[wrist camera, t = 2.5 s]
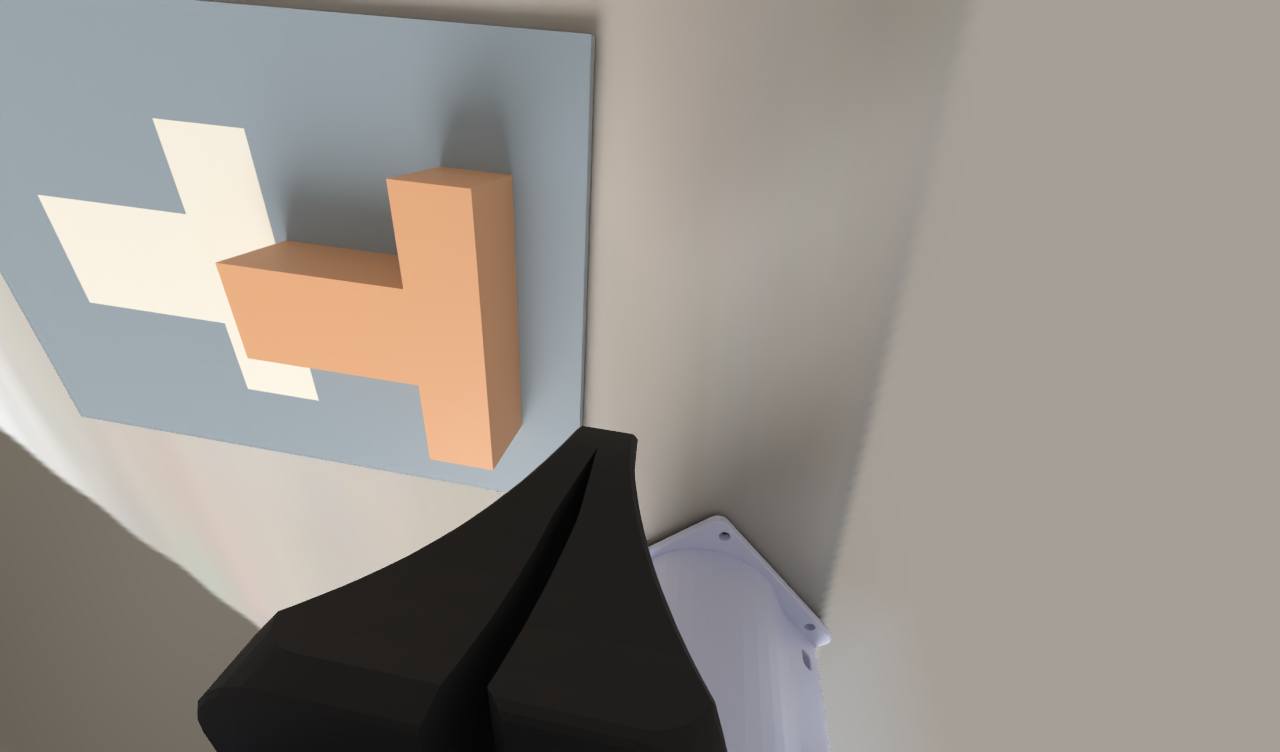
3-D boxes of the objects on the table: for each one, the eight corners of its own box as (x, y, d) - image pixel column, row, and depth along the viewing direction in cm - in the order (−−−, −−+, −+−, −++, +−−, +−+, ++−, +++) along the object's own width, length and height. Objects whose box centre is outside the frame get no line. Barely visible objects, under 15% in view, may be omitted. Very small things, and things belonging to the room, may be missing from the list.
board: (595, 36, 15) (591, 34, 14) (580, 497, 23) (577, 505, 23) (-148, -28, 17) (-170, -32, 17) (92, 411, 26) (81, 416, 26)
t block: (512, 174, 16) (470, 188, 14) (522, 425, 21) (493, 470, 19) (261, 145, 17) (177, 153, 15) (326, 392, 22) (273, 431, 20)
